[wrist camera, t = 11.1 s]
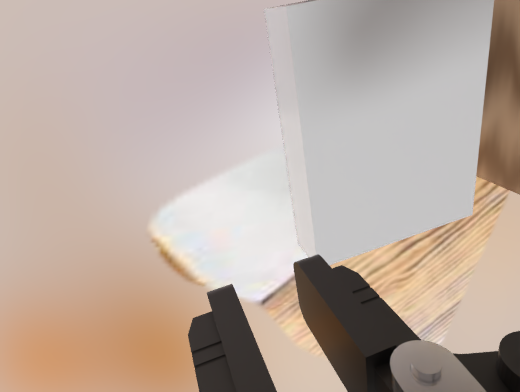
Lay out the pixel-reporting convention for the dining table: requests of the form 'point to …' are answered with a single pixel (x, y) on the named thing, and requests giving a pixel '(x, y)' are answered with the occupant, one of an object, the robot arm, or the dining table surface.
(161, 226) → the dining table surface
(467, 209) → the slab
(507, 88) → the rail
